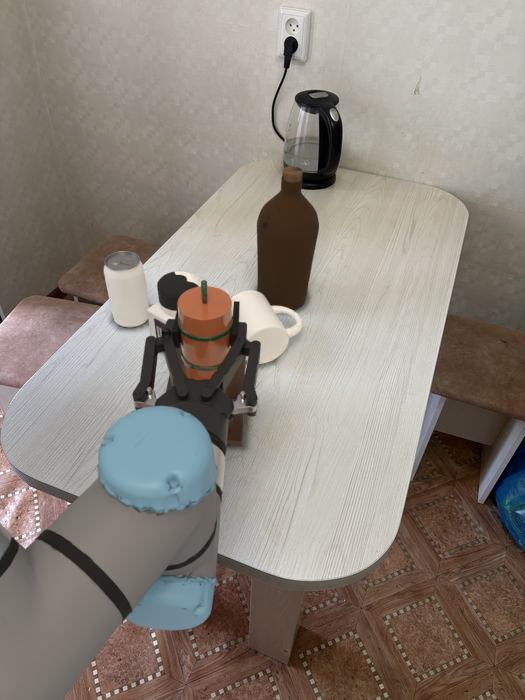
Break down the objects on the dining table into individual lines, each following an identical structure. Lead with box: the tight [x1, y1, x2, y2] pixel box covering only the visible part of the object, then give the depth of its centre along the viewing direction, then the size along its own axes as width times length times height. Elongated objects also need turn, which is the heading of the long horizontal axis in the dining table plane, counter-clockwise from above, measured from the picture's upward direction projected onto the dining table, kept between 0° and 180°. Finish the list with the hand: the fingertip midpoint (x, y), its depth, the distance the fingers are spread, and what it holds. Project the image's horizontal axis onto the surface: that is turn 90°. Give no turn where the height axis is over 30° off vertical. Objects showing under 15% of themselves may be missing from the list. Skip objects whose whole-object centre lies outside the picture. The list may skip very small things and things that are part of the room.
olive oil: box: [256, 165, 320, 311], centre depth 88 cm, size 11×11×25 cm
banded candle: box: [178, 279, 233, 380], centre depth 63 cm, size 7×7×14 cm
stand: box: [165, 344, 247, 447], centre depth 71 cm, size 10×10×10 cm
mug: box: [230, 289, 304, 365], centre depth 84 cm, size 12×10×8 cm
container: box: [147, 270, 201, 338], centre depth 82 cm, size 8×8×13 cm
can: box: [103, 250, 150, 329], centre depth 86 cm, size 6×6×12 cm
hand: (209, 308), depth 67 cm, fingers closed on banded candle, 6 cm apart
